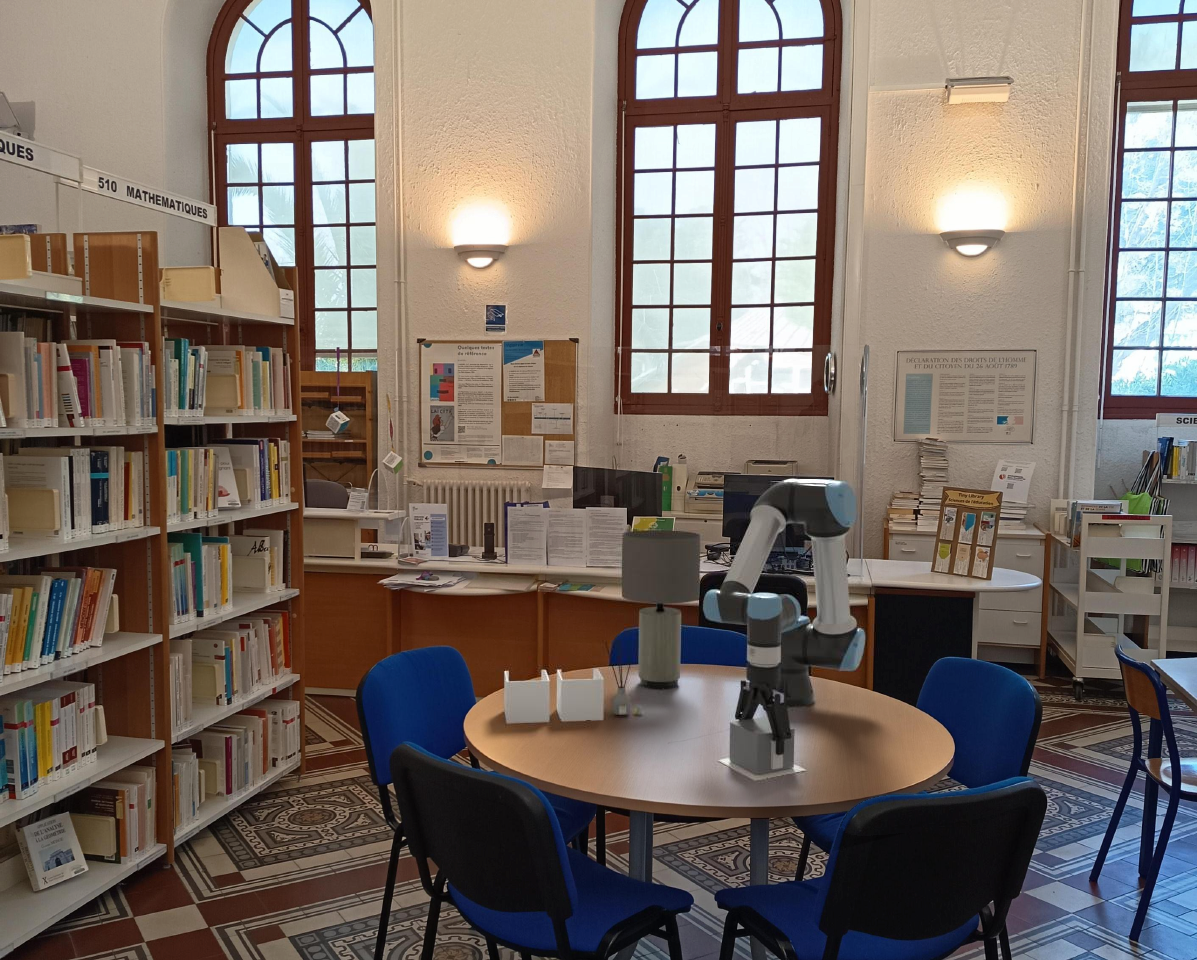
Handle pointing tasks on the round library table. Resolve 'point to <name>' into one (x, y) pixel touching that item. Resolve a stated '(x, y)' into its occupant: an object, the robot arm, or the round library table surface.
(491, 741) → the round library table surface
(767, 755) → the block
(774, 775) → the white flat square plate
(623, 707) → the reed diffuser
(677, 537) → the lamp
